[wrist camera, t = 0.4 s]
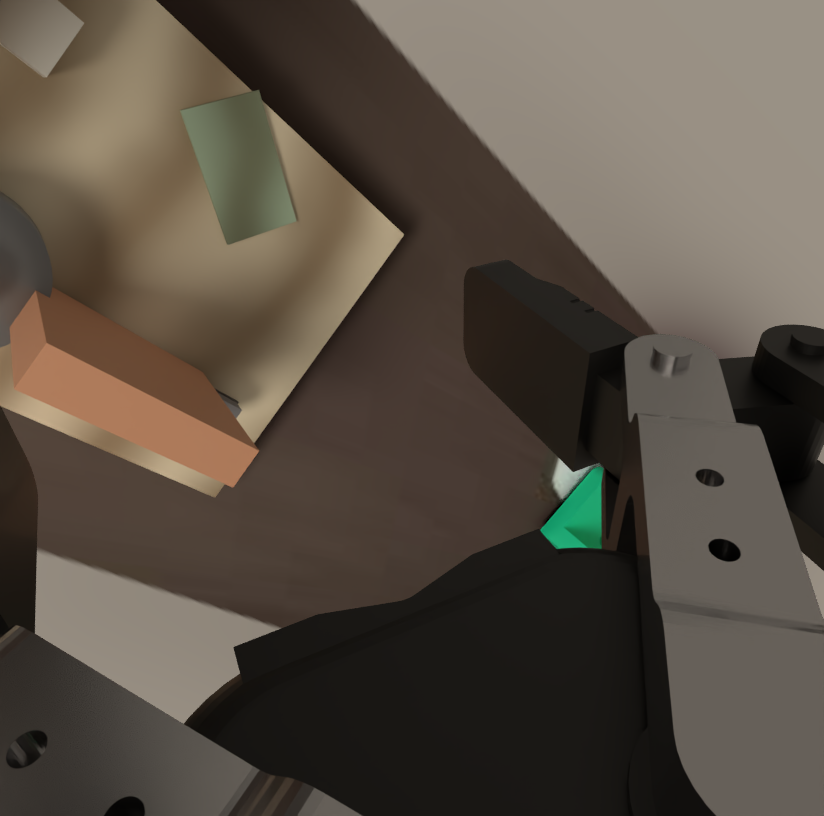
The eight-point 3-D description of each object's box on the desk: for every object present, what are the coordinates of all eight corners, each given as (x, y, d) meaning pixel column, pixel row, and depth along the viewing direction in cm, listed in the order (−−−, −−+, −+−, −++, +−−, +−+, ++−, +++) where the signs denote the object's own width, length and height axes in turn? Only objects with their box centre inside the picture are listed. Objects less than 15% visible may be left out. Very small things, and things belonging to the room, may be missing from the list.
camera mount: (637, 517, 63) (730, 580, 55) (586, 576, 63) (672, 649, 55) (589, 456, 56) (688, 519, 48) (530, 524, 55) (621, 599, 47)
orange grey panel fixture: (-268, 240, 23) (-385, 313, 16) (-164, 88, 22) (-235, 92, 15) (195, 456, 34) (247, 552, 28) (266, 358, 34) (336, 429, 27)
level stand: (-368, 226, 23) (-453, 260, 19) (-74, -208, 22) (-90, -278, 18) (205, 480, 38) (233, 532, 34) (389, 225, 38) (441, 244, 33)
